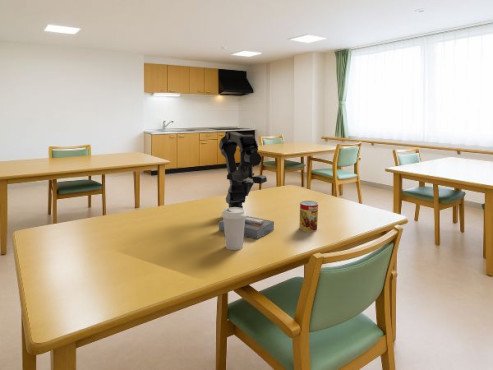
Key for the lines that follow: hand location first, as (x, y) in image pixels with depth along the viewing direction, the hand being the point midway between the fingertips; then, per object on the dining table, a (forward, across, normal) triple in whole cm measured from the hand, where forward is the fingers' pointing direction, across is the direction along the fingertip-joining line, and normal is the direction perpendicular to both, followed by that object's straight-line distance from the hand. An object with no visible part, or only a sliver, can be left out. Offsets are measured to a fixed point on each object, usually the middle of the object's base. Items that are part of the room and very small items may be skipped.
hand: (246, 195), depth 171 cm
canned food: (+13, +28, +8) cm, 32 cm away
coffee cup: (+13, +13, -28) cm, 34 cm away
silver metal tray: (+13, +6, -9) cm, 17 cm away
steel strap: (+8, +6, -9) cm, 14 cm away
